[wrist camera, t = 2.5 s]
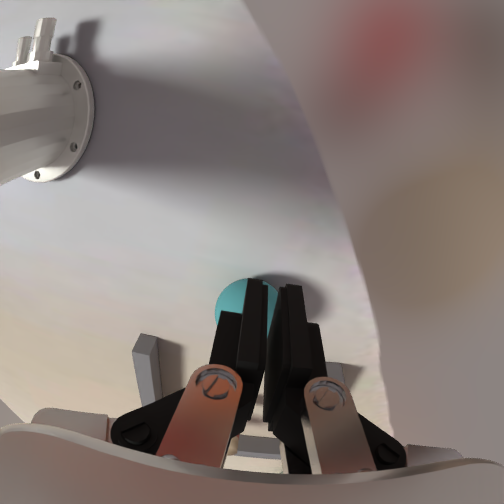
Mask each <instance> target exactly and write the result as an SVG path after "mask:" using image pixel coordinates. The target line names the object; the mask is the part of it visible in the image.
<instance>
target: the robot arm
mask: <svg viewBox="0 0 504 504" xmlns="http://www.w3.org/2000/svg"><path fill="white" fill-rule="evenodd" d="M56 21H57V20H56V19H55V18H42V19H39V20H37V22H36V26H35V31H34V37H33V39H34V42H33V48H32V53H29V50H30V45H31V39H32V37H30V36H26V37H21V38H19V40H18V45H17V55H16V62H13V64H12V67H11V68H8V69H0V186H1V185H3V184H5V183H7V182H10V181H12V180H14V179H16V178H18V177H21V176H22V177H23V178H25V179H27V180H29V181H33V182H40V183H45V182H48V181H52V180H55V179H57V178H59V177H61V176H63V175H64V174H65V173H67V172H68V171H70V170H71V169H72V168H73V167H74V165H75V164H76V163H77V162H78V161H79V159H80V157H81V156H82V154H83V153H84V151H85V148H86V146H87V144H88V142H89V139H90V135H91V131H92V127H93V120H94V98H93V91H92V87H91V84H90V81H89V78H88V76H87V75H86V73H85V71H84V69H83V68H82V67H81V66H80V65H79V64H78V63H77V62H76V61H75V60H73V59H72V58H70V57H68V56H65V55H61V54H53V51H50V46H51V40H52V38H53V35H54V30H55V25H56ZM28 53H29V54H28ZM267 321H268V285H264V284H263V280H258V279H252V278H248V280H247V286H246V292H245V298H244V304H243V310H242V313H236V312H229V311H223V310H221V312H220V317H219V321H218V325H217V330H216V334H215V339H214V343H213V348H212V352H211V357H210V362H209V365H205V366H202V367H200V368H198V369H197V370H195V371H194V373H193V374H192V375H191V377H190V379H189V382H188V384H187V386H186V388H184V389H181V390H179V391H177V392H175V393H173V394H171V395H168V396H166V397H164V398H162V399H159V400H157V401H155V402H152V403H150V404H148V405H145V406H143V407H141V408H138V409H136V410H134V411H131V412H129V413H126V414H124V415H122V416H121V417H119V418H109V417H108V415H105V414H94V413H85V412H77V411H70V410H63V409H57V408H44V409H42V410H39V411H38V412H37V413H36V414H35V415H34V417H33V419H32V422H31V423H18V424H10V425H6V426H3V427H1V428H0V504H504V466H503V465H502V464H499V463H497V462H494V461H491V460H486V459H480V458H463V457H462V455H461V454H460V453H459V452H458V451H457V450H455V449H451V448H439V447H429V446H420V445H411V444H407V445H406V446H405V447H404V446H402V445H401V444H400V443H399V442H398V441H397V440H395V439H394V438H393V437H391V436H390V435H388V434H387V433H386V432H384V431H383V430H381V429H380V428H379V427H377V426H376V425H374V424H373V423H372V422H370V421H369V420H367V419H366V418H365V417H363V416H362V415H360V414H359V413H358V412H357V410H356V407H355V404H354V401H353V398H352V396H351V393H350V391H349V389H348V388H347V387H346V386H345V385H344V384H343V383H342V382H340V381H338V380H337V379H334V378H331V377H328V375H327V369H326V363H325V357H324V351H323V345H322V339H321V334H320V328H319V325H318V324H317V323H308V322H307V319H306V312H305V305H304V298H303V291H302V286H299V285H292V284H286V286H285V287H280V288H279V292H278V296H277V300H276V304H275V309H274V313H273V317H272V321H271V325H270V329H269V333H268V338H267ZM264 371H265V376H264V403H263V422H268V431H273V434H274V435H275V436H276V437H277V438H278V439H279V440H280V444H279V447H280V454H281V461H282V468H283V474H276V473H261V472H249V471H240V470H231V469H223V467H224V464H225V460H226V457H227V453H228V450H229V446H230V442H231V439H232V438H233V437H235V436H237V435H238V434H240V433H242V432H243V431H244V429H245V426H246V422H247V420H249V421H250V420H251V416H252V413H253V409H254V406H255V403H256V399H257V396H258V392H259V389H260V385H261V381H262V378H263V374H264Z"/></svg>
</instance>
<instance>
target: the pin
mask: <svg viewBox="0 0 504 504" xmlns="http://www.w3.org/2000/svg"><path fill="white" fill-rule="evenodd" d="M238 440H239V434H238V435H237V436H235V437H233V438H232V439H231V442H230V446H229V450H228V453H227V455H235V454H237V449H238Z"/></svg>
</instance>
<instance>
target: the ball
mask: <svg viewBox="0 0 504 504" xmlns="http://www.w3.org/2000/svg"><path fill="white" fill-rule="evenodd" d="M247 280H248V279H241V280H238V281H236V282H234V283H232V284H230V285H229V286H227V287H226V288H225V289H224V290H223V292H222V293H221V294H220V296H219V298H218V300H217V303H216V307H215V320H216V323H217V325H218V321H219V317H220V312H221V310H223V311H229V312H236V313H242V310H243V304H244V298H245V292H246V286H247ZM263 284H264V285H268V321H267V338H268V333H269V329H270V325H271V321H272V317H273V313H274V309H275V304H276V300H277V296H278V292H277V291H276V290H275V289H274V288H273V287H272V286H271V285H270V284H268V283H266V282H264V281H263Z"/></svg>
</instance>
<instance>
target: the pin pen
mask: <svg viewBox="0 0 504 504" xmlns="http://www.w3.org/2000/svg"><path fill="white" fill-rule="evenodd" d="M132 356H133V362H134V367H135V373H136V378H137V383H138V389H139V393H140V398H141V403H142V407H143V406H145V405H148V404H150V403H152V402H155V401H157V400H159V399H162V398H163V396H162V387H161V378H160V367H159V356H158V343H157V337H154V336H150V335H145V334H140V336H139V338H138V340H137V342H136V344H135V346H134V348H133V350H132ZM325 363H326V369H327V375H328V377H331V378H334V379H337V380H338V381H340V382H342V383H343V384H344V383H345V381H344V376H343V371H342V366H341V363H332V362H325ZM279 444H280V440H279V439H277V438H265V437H255V436H246V435H239V440H238V449H237V454H235V456H244V457H253V458H265V459H279V460H281V454H280V447H279Z"/></svg>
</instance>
